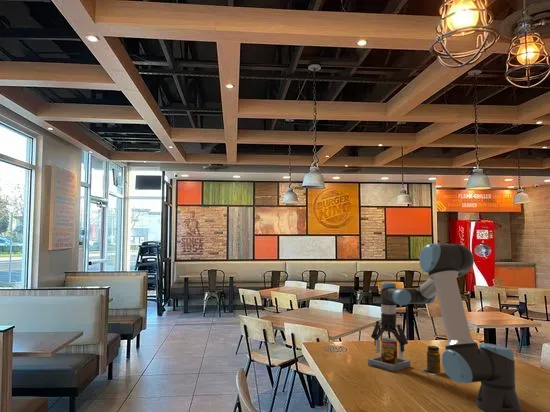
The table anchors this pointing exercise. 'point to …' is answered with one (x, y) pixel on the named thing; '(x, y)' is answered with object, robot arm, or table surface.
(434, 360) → the condiment
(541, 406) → the table surface
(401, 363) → the holder
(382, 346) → the canned food
